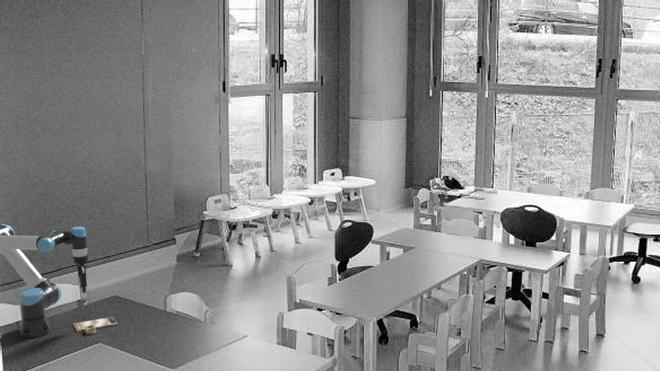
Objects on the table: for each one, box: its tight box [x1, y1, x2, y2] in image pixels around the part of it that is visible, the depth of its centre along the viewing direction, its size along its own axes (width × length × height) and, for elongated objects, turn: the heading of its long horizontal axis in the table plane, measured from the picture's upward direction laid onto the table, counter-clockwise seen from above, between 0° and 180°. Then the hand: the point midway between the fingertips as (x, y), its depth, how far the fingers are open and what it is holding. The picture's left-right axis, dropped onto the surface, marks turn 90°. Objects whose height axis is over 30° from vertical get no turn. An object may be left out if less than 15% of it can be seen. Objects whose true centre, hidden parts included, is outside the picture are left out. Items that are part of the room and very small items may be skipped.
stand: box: [84, 325, 97, 335], centre depth 434 cm, size 5×5×3 cm
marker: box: [77, 275, 88, 304], centre depth 440 cm, size 4×4×14 cm
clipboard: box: [72, 316, 119, 333], centre depth 446 cm, size 22×14×1 cm, turn 116°
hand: (83, 296), depth 441 cm, fingers closed on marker, 3 cm apart
